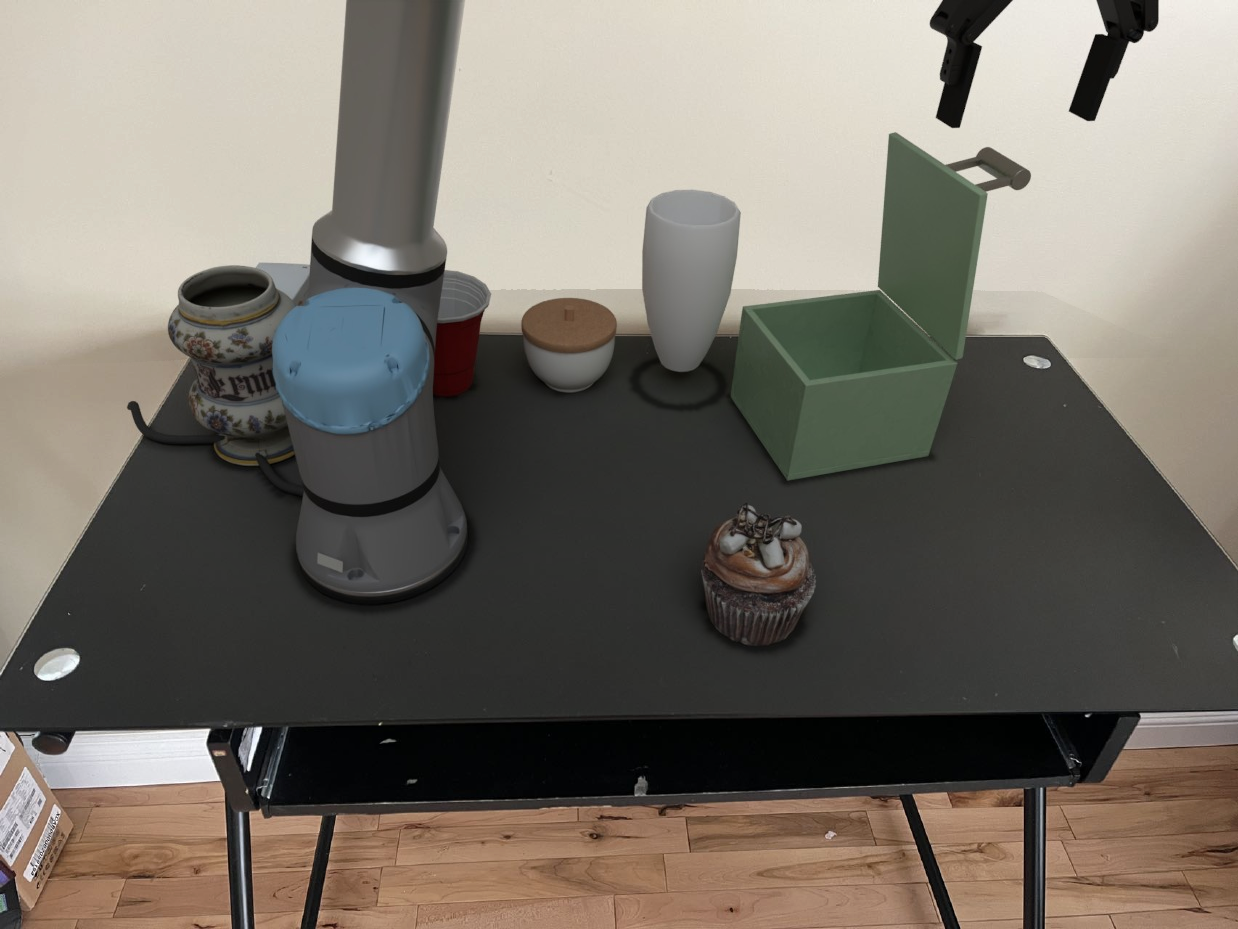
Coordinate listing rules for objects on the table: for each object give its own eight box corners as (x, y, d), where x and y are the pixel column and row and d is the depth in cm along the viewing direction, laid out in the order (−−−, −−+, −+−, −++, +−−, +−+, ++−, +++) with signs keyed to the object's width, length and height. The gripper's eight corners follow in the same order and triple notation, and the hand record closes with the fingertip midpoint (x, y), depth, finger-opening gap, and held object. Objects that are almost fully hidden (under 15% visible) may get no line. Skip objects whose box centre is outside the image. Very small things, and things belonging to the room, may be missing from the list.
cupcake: (688, 642, 76) (698, 557, 70) (705, 562, 84) (716, 479, 77) (802, 665, 75) (823, 580, 68) (810, 582, 82) (830, 498, 76)
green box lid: (980, 195, 78) (1070, 171, 79) (888, 133, 90) (968, 113, 91) (955, 360, 89) (1034, 337, 91) (877, 286, 101) (948, 267, 102)
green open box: (787, 480, 93) (805, 385, 86) (730, 396, 105) (742, 306, 97) (928, 456, 97) (958, 363, 90) (858, 377, 109) (879, 289, 101)
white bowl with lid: (504, 382, 105) (500, 311, 100) (560, 344, 112) (560, 275, 106) (578, 415, 101) (578, 343, 95) (632, 373, 108) (636, 303, 102)
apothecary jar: (291, 481, 90) (252, 324, 79) (180, 464, 92) (125, 307, 81) (342, 412, 100) (313, 263, 88) (240, 398, 101) (198, 249, 90)
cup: (615, 378, 107) (622, 203, 93) (677, 349, 112) (692, 179, 99) (678, 418, 101) (695, 238, 87) (740, 385, 107) (765, 211, 93)
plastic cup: (479, 416, 100) (472, 321, 93) (386, 402, 102) (372, 307, 94) (508, 364, 108) (503, 273, 101) (422, 352, 110) (411, 261, 102)
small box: (282, 361, 107) (258, 260, 99) (336, 364, 107) (316, 263, 99) (258, 401, 101) (231, 296, 93) (315, 403, 101) (293, 299, 93)
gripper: (988, -177, 61) (910, 141, 74) (1285, -166, 66) (1163, 127, 80) (930, -186, 66) (867, 111, 80) (1209, -175, 72) (1107, 100, 85)
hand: (1015, 119), depth 80 cm, fingers open, 13 cm apart
